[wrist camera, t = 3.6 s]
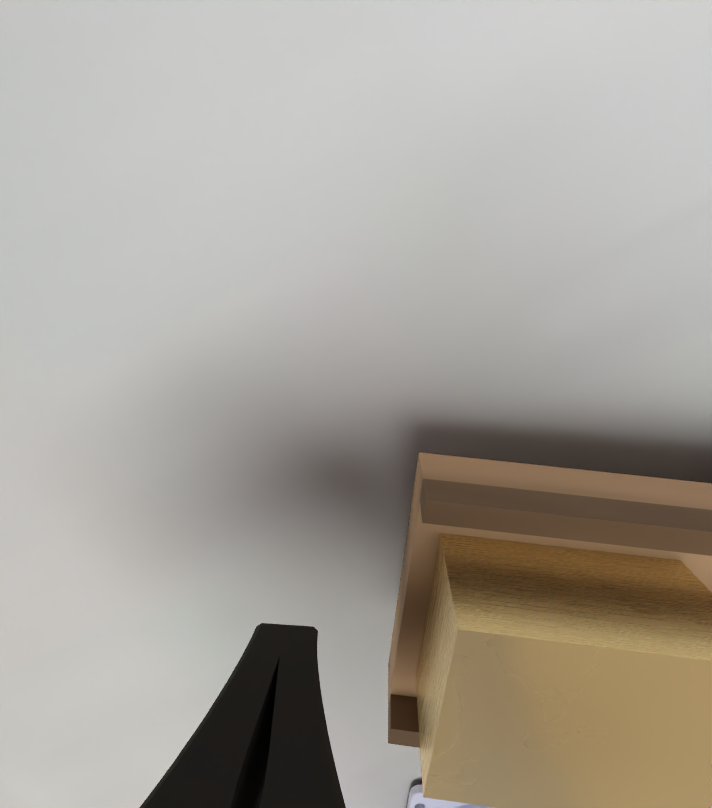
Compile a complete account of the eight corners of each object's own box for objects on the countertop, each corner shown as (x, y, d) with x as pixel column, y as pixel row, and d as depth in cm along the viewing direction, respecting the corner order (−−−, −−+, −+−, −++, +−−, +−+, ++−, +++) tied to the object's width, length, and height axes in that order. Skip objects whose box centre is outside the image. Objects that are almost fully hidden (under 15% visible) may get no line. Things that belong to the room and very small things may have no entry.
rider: (622, 702, 12) (694, 836, 9) (415, 675, 12) (422, 797, 10) (680, 560, 11) (787, 670, 8) (440, 532, 11) (458, 629, 8)
